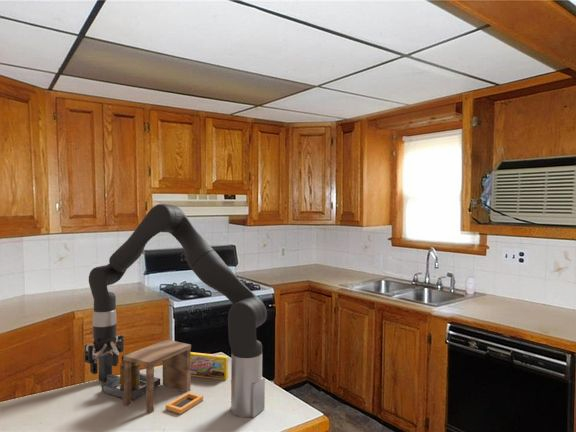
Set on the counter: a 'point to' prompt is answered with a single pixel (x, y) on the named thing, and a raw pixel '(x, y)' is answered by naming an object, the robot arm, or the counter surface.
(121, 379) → the condiment
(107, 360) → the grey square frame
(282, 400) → the counter surface
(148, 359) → the wooden side table
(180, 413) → the pit trap
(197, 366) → the candy box
